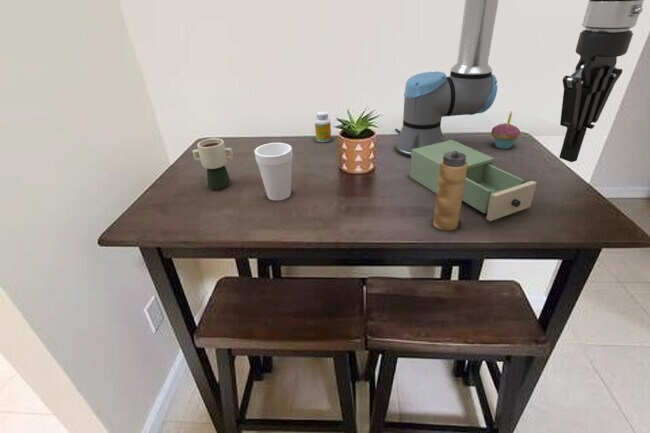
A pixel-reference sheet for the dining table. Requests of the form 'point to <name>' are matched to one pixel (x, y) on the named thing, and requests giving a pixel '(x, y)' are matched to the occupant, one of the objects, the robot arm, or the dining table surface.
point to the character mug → (214, 161)
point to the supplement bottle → (323, 127)
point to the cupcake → (505, 134)
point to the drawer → (496, 191)
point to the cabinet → (430, 156)
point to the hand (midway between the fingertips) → (567, 159)
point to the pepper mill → (450, 190)
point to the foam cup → (275, 169)
